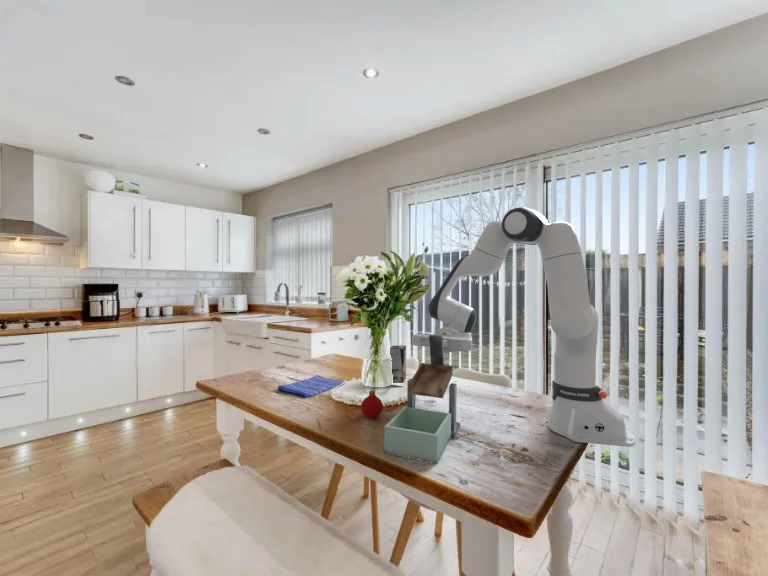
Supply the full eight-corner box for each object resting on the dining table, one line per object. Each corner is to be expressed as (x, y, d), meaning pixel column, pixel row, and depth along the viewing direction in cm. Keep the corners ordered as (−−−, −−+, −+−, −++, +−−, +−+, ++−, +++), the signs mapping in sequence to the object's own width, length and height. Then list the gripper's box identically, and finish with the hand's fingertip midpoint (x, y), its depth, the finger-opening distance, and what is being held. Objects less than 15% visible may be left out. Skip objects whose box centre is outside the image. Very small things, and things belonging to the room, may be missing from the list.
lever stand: (460, 426, 109) (460, 381, 109) (454, 438, 101) (454, 389, 101) (411, 418, 115) (411, 375, 115) (401, 429, 107) (402, 383, 107)
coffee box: (403, 387, 150) (403, 349, 150) (388, 386, 151) (388, 348, 151) (406, 381, 159) (406, 345, 159) (392, 380, 160) (392, 344, 160)
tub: (450, 437, 101) (451, 413, 101) (437, 464, 87) (437, 435, 86) (404, 429, 107) (405, 406, 107) (384, 453, 92) (384, 426, 92)
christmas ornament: (373, 423, 111) (373, 392, 111) (356, 418, 115) (356, 387, 115) (387, 417, 117) (387, 387, 116) (370, 412, 121) (371, 383, 121)
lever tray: (453, 372, 113) (451, 336, 110) (442, 398, 100) (440, 357, 97) (423, 369, 117) (421, 334, 114) (409, 393, 104) (405, 354, 101)
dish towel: (275, 392, 144) (275, 385, 144) (317, 379, 163) (317, 372, 163) (305, 400, 134) (305, 392, 134) (345, 385, 154) (345, 378, 154)
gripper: (418, 328, 130) (406, 332, 117) (475, 333, 122) (468, 337, 109) (417, 346, 130) (405, 351, 117) (474, 351, 122) (468, 357, 109)
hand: (436, 344), depth 113 cm, fingers closed, pressing on lever tray
